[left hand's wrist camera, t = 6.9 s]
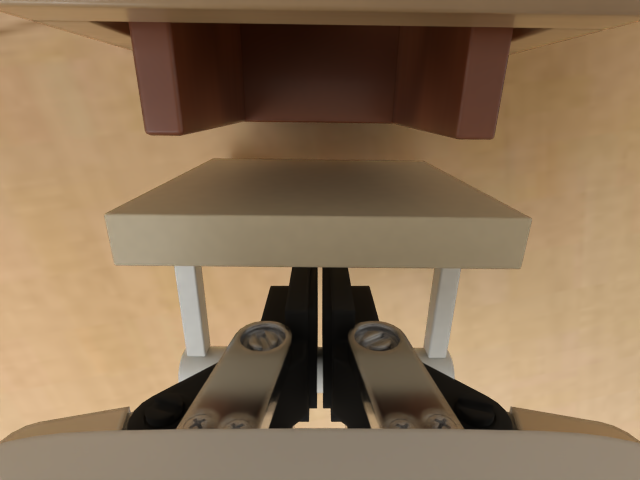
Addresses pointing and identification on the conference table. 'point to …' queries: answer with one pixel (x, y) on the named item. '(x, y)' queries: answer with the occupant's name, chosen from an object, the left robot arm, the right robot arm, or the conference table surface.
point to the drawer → (318, 161)
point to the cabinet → (336, 15)
